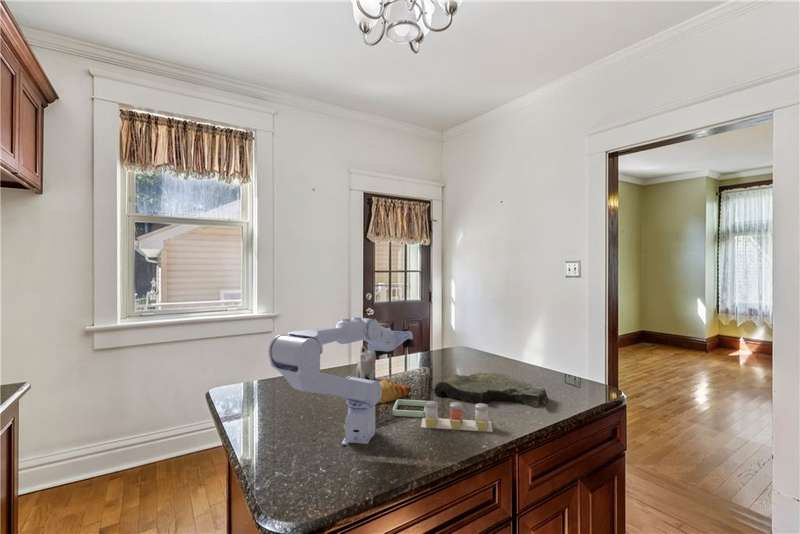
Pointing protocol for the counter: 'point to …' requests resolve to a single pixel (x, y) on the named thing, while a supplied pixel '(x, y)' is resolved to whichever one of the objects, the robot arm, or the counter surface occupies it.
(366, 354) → the toy
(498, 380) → the stone
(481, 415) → the grey fuse
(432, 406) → the grey fuse
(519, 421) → the counter surface
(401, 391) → the croissant
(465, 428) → the fuse block
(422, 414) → the tray
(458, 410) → the red fuse
